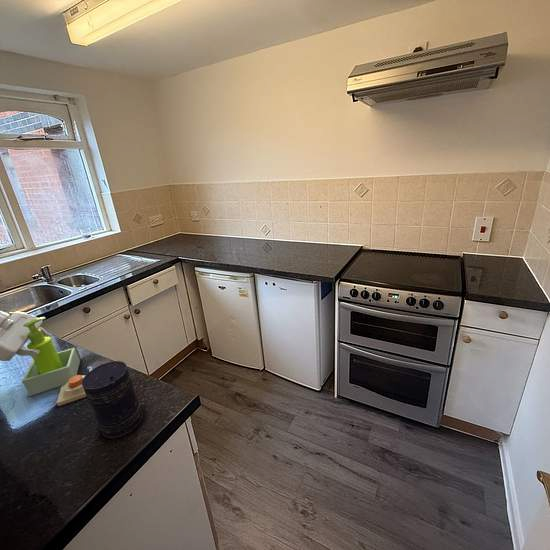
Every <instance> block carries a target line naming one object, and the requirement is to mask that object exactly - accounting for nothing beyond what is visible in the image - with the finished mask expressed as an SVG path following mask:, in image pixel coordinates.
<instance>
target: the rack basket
mask: <svg viewBox="0 0 550 550" xmlns="http://www.w3.org/2000/svg"><path fill="white" fill-rule="evenodd" d="M57 354H58V356H59V359H60V361H61V363H62V365H63V368H60V369H57V370H53V371H50V372H47V373H44V374H40V373H39V371H38V368H37V366H36V364H35V362H34V360H33V359H32V360H31V363H30V365H29V366H28V368H27V371H26V372H25V374H24V377H23V378H22V380H21V383H22V385H23V386H24V387H25V388H24V389H25V390H26V392H27V394H28V396H29V397H31V396H34V395H37V394H41V393H43V392H47V391H50V390H53V389H56V388H59V387H62V386H63V385H65V384H66V383H67V382H68V380H69V379H70V378H72V377H74V376H76V375H78V370H79V367H80V363H81V359H80V357H79V354H78V351H77V350H76V347H72V348H69V349H65V350H62V351H58V352H57Z"/></svg>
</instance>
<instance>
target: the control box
mask: <svg viewBox="0 0 550 550" xmlns="http://www.w3.org/2000/svg"><path fill="white" fill-rule="evenodd" d="M85 375H86V374H85ZM85 375H83V374H82V375H81V376H82V378H84V377H85ZM84 398H87V397H86V395H85V391H84V388H83V386H82V384H81V385H79V386H78V387H75V388H70V386H69V384H68V382H67V383H66V384H65V385H62V386H60V390H59V394H58V397H57V399H56V404H55V405H57V407H60V406H63V405H66V404H70V403H72V402H75V401H78V400H80V399H84Z"/></svg>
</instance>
